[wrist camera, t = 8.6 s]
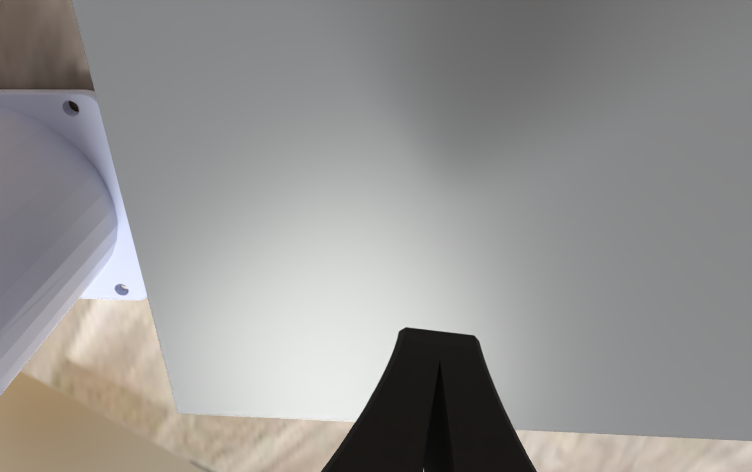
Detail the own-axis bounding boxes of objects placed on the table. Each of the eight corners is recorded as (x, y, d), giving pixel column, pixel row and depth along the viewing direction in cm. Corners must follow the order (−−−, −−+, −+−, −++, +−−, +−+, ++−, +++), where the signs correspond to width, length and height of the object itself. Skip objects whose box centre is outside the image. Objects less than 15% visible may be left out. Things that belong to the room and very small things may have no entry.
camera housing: (233, 294, 24) (177, 413, 19) (172, -58, 18) (66, -21, 13) (786, 311, 23) (886, 447, 17) (929, -72, 16) (1152, -36, 11)
